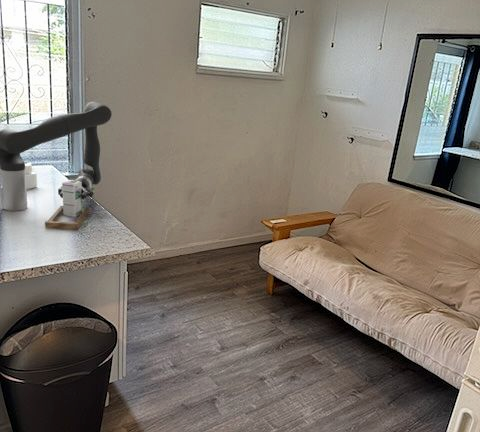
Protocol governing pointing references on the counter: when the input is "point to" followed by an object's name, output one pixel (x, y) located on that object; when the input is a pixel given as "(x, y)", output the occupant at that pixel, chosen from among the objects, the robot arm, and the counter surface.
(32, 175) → the medicine bottle
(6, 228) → the counter surface
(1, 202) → the robot arm
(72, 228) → the open wooden frame
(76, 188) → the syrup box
